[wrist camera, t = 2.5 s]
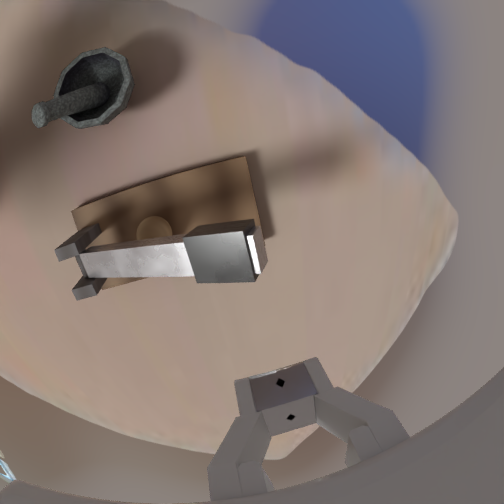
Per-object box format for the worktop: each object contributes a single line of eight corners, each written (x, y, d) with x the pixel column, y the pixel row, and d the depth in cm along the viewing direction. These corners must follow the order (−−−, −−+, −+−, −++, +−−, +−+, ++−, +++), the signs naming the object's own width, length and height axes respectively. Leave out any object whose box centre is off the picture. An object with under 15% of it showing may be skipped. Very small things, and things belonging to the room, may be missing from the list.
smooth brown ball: (146, 249, 35) (140, 262, 31) (136, 218, 33) (127, 227, 29) (178, 240, 35) (175, 252, 31) (168, 208, 33) (163, 216, 29)
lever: (103, 272, 30) (88, 282, 28) (90, 241, 28) (75, 251, 26) (270, 264, 22) (261, 281, 20) (260, 217, 21) (249, 230, 19)
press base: (106, 283, 37) (84, 321, 28) (77, 207, 33) (42, 227, 23) (262, 241, 39) (281, 270, 30) (243, 156, 35) (258, 158, 25)
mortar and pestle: (120, 51, 26) (90, 16, 15) (156, 95, 30) (135, 71, 19) (59, 106, 27) (11, 96, 16) (92, 152, 31) (48, 156, 19)
